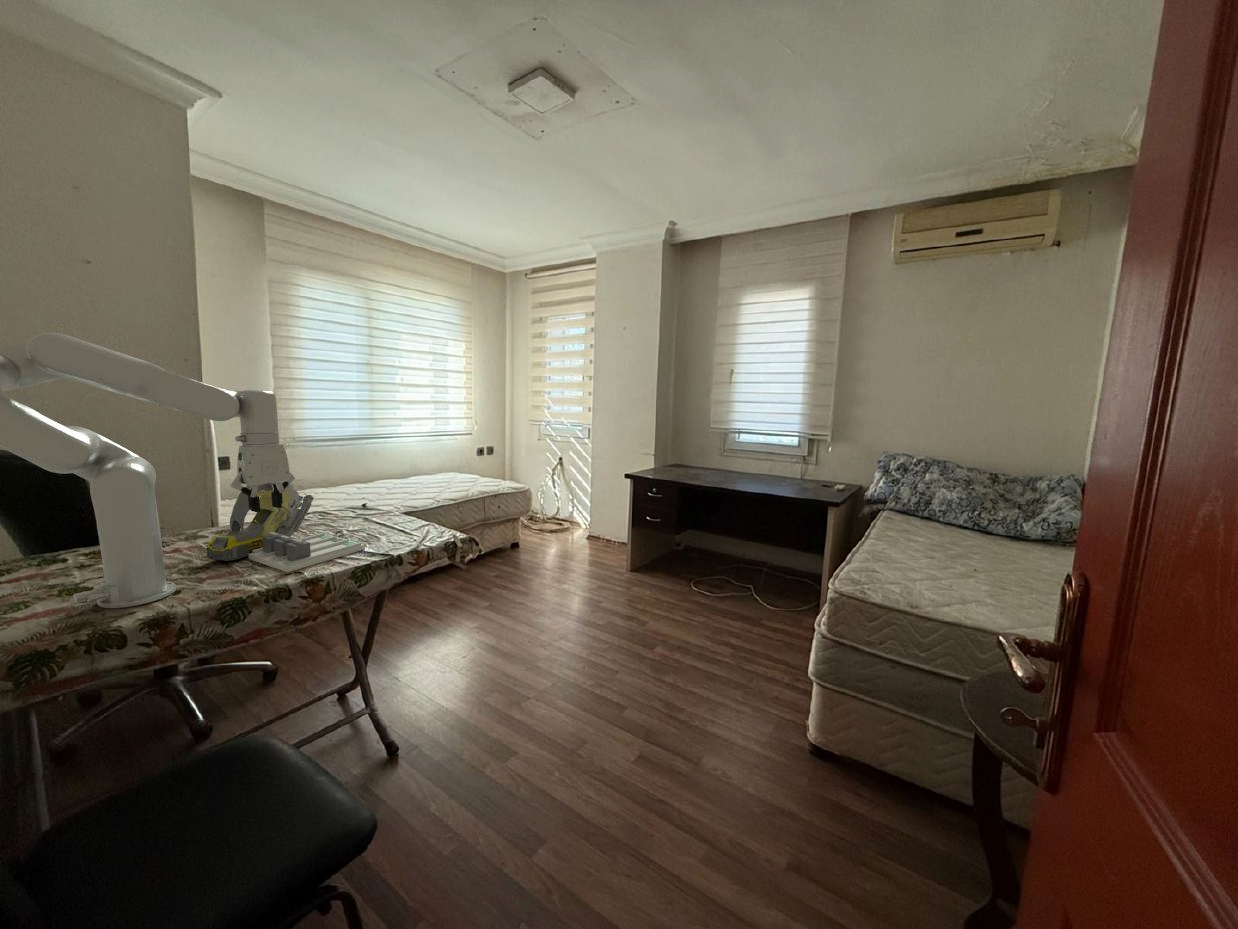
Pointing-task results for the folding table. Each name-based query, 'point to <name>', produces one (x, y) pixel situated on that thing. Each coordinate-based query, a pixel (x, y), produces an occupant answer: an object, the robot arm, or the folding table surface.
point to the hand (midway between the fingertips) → (266, 508)
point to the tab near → (298, 550)
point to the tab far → (270, 541)
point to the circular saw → (259, 523)
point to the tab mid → (282, 545)
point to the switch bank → (320, 551)
